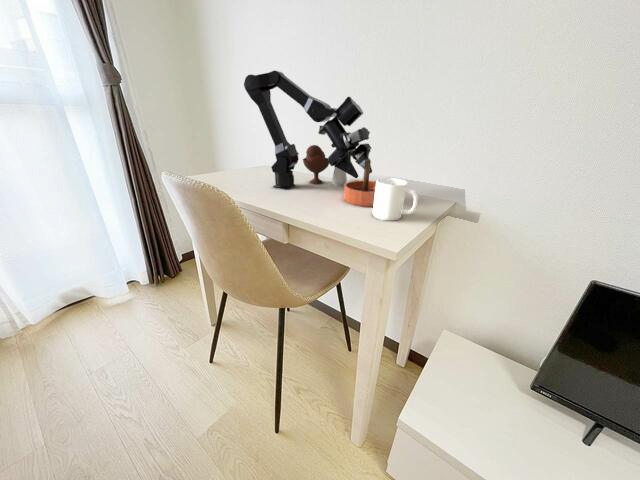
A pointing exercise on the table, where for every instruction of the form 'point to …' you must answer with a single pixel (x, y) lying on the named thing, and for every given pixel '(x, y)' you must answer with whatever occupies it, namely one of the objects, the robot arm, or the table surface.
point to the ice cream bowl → (315, 162)
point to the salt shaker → (339, 177)
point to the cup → (392, 199)
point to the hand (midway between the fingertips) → (364, 175)
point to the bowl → (359, 193)
